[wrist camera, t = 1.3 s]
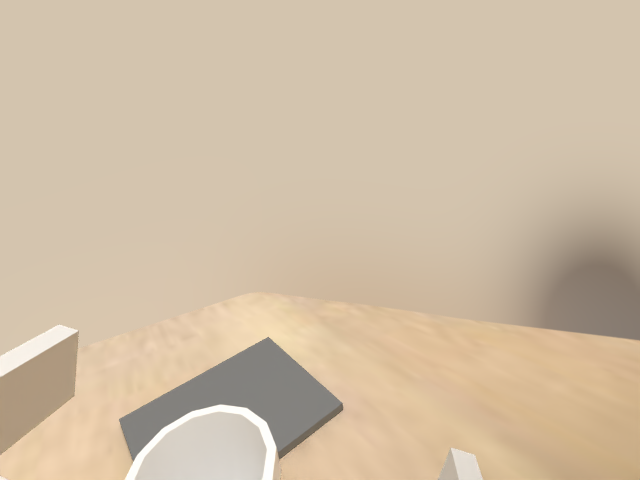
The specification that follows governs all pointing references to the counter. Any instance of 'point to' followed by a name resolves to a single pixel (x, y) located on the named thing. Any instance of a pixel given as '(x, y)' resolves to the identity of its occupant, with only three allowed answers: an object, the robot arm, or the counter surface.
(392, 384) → the counter surface
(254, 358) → the mat
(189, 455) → the foam cup
